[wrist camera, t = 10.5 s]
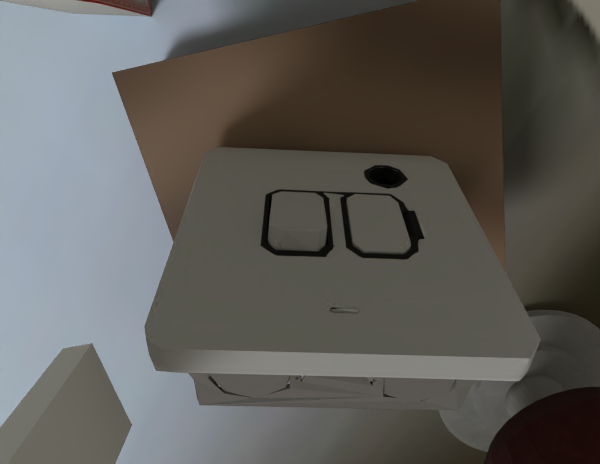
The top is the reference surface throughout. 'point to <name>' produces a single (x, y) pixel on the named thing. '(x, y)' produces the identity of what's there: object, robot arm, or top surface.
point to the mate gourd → (540, 400)
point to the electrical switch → (334, 285)
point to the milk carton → (92, 6)
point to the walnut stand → (335, 99)
